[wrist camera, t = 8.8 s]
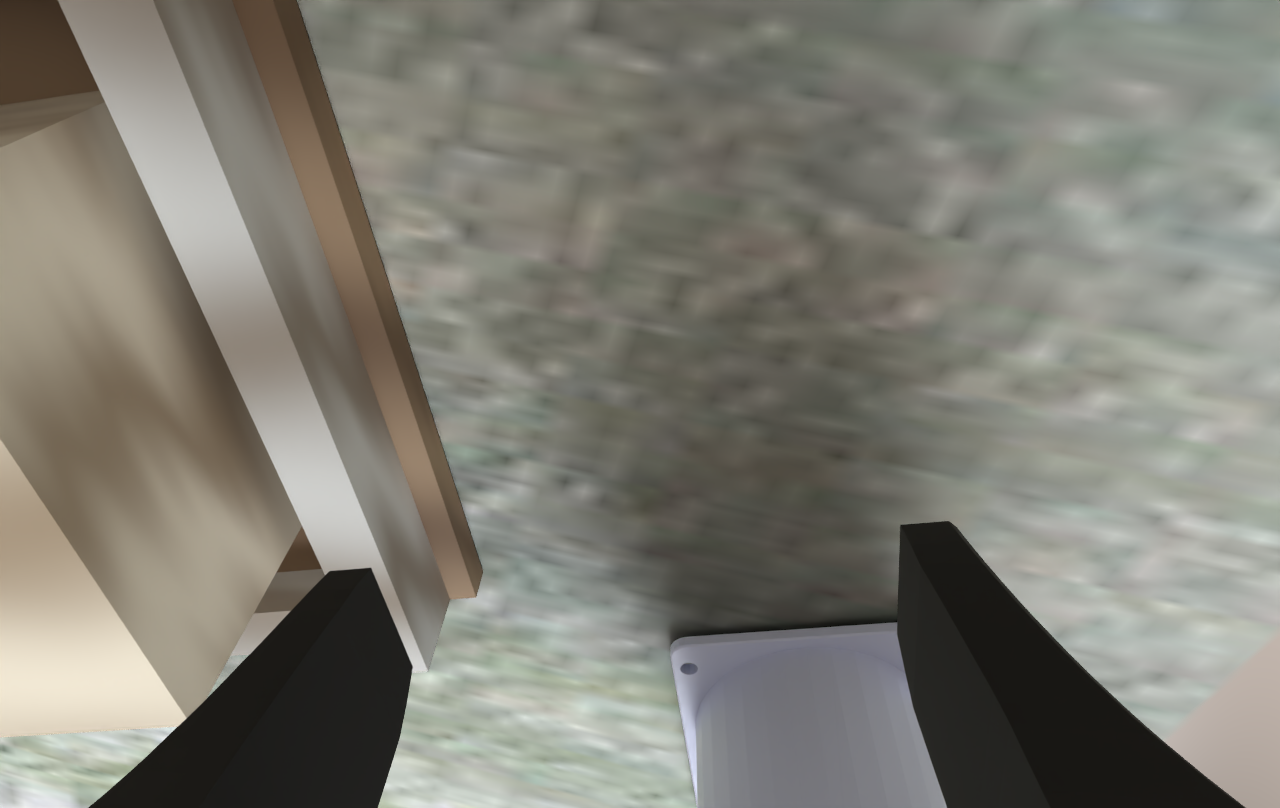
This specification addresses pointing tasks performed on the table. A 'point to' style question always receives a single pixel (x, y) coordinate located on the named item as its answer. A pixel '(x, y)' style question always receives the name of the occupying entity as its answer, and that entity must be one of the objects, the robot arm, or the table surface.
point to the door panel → (114, 447)
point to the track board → (274, 278)
